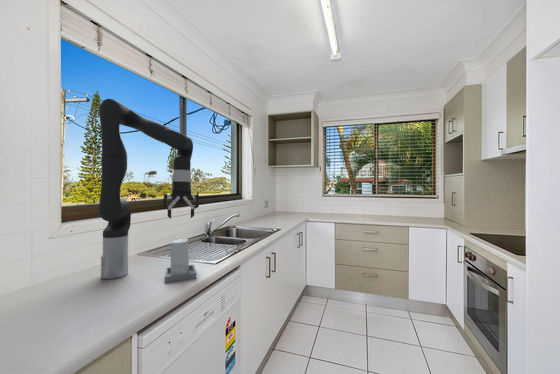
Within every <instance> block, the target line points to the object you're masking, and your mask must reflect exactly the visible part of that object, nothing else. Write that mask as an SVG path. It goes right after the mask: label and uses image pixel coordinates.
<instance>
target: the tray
mask: <svg viewBox="0 0 560 374" xmlns="http://www.w3.org/2000/svg"><path fill="white" fill-rule="evenodd" d="M195 267H196V266H195V264H189V272H188V273H187V274H180V275H172V276H171V266H170V267H169V266H168V267H165V270H164V271H165V272H164V284H171V283H175V282H176V283H177V282H183V281H192V280H197V271H196V268H195Z"/></svg>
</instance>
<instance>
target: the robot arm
mask: <svg viewBox="0 0 560 374" xmlns="http://www.w3.org/2000/svg"><path fill="white" fill-rule="evenodd" d="M98 112H99V113H98V115H99V122H100V130H101V131H100V132H101V156H100V157H101V158H100V160H101V184H100V185H101V187H100V196H99V202H98V203H99V204H98V213H99V216H100V217H101V219H102V220H104V221H106V222H107V226H106V227H105V228H104V229H103V231H102V255H101V256H100V280H102V279H105V280H111V279H118V278H123V277H125V276H127V275H128V274H129V230H130V228H131V219H132V218H131V217H132V207H131V204H130V203H129V201H128V200H126V199H123V198H121V186H122V184H123V181H124V179H125V177H126V174H127V171H128V152H127V150H126V146H125V144H124V141H123V139H122V137H121V132H120V126H124V127H128V128H131V129H134V130H136V131H139V132H141V133H142V134H144V135H146V136H148V137H150V138H151V139H154V140H155V141H158V142H160V143H163V144H165V145H167V146H168V147H171V148H172V149H175V150H177V152H176V156H175V157H173V160H172V164H173V165H172V175H171V176H172V177H171V178H172V179H171V181H172V182H171V184H172V185H171V188H172V189H171V194H167V193H165V194H164V195H163V204H162V208H163V209H166V210H167V218H168V219H172V208H173V207H174V206H175V205H176V204H177V205H186V204H187V205H188V206H189V207H190V218H191V219H192V218H193V217H195V209H198V208H199V207H200V204H199V201H200V200H199V194H198V193H196V194H192V190H191V189H192V173H191V159H192V156H193V150H194V143H193V140H192V138H190V136H187V135H186V134H183V133H181V132H178V131H177V130H174V129H172V128H169V127H167V126H166V125H164V124H162V123H160V122H159V123H158V122H156V121H154V120H150V119H148V118H145V117H143V116H141V115H140V114H138V113H136V112H135V111H134V110H132V109H130V108H129V107H128V106H126V105H125V104H124V103H121V102H120V101H117V100H116V99H113V98H105V99H104V100H103V101H102V102H101V103H100V105H99V109H98ZM170 198H171V199H172V202H171V203H170V204H169V205H167V202H168V200H169V199H170ZM192 198H193V200H195V201H194V203H195V204H194V205H193V204H192V202H191V201H190V200H191V199H192Z"/></svg>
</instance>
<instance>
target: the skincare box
mask: <svg viewBox="0 0 560 374" xmlns="http://www.w3.org/2000/svg"><path fill="white" fill-rule="evenodd" d="M189 256H190V255H189V239H188V238H184V239H183V238H182V239H175V240H173V241H172V242H170V267H171V276H172V275H180V274H187V273H188V272H189V265H190V264H189V263H190V262H189Z"/></svg>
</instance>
